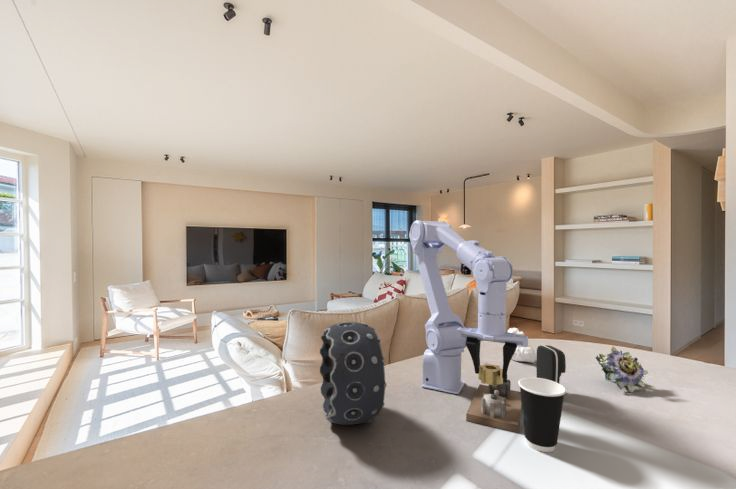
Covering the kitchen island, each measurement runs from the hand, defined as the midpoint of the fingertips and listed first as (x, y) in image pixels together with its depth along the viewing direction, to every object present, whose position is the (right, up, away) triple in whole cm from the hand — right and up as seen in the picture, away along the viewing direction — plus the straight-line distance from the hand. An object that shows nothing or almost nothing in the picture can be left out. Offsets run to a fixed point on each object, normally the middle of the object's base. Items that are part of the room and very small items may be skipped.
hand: (490, 374), depth 78 cm
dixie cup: (+5, -9, -12) cm, 16 cm away
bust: (+21, -8, +35) cm, 41 cm away
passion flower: (+39, -9, +16) cm, 43 cm away
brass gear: (0, -1, 0) cm, 1 cm away
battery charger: (+19, -9, +10) cm, 23 cm away
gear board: (+2, -8, +2) cm, 9 cm away
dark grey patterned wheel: (-31, -8, -3) cm, 32 cm away
